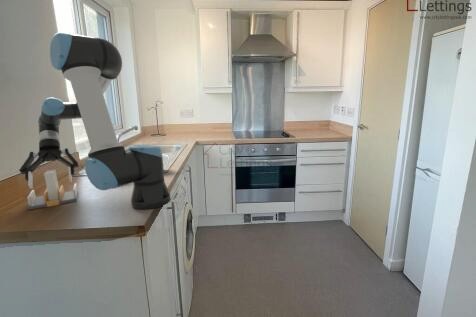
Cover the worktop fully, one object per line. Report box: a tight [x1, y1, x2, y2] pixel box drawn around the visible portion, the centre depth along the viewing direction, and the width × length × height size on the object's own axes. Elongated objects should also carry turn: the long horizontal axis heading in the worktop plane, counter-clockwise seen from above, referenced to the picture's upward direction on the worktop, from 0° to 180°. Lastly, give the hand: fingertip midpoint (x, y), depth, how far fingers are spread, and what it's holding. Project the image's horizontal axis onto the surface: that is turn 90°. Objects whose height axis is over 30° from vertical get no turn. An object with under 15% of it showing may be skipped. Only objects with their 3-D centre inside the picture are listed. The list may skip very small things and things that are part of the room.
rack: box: [26, 182, 79, 210], centre depth 109 cm, size 13×16×5 cm
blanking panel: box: [43, 168, 60, 201], centre depth 108 cm, size 6×3×12 cm, turn 28°
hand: (51, 184), depth 106 cm, fingers open, 13 cm apart
